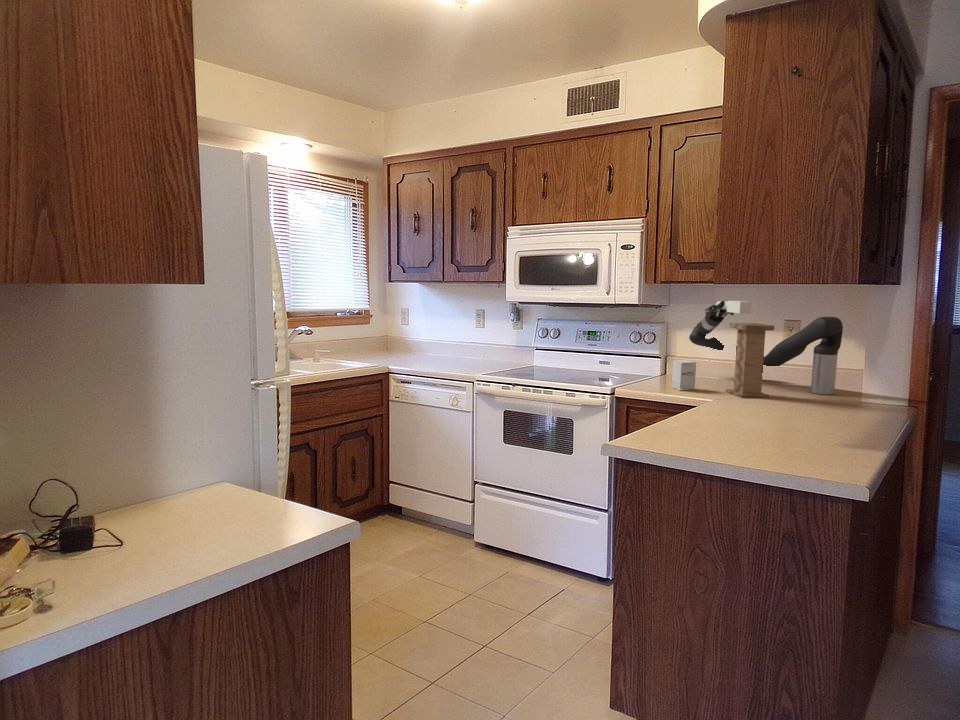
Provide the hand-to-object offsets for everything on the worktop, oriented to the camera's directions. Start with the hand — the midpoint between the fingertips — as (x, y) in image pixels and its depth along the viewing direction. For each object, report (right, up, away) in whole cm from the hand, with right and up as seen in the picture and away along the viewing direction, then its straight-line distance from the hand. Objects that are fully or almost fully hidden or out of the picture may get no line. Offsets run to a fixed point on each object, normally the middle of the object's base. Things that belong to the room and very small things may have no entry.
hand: (727, 302), depth 293 cm
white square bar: (0, -4, -4) cm, 6 cm away
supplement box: (-22, -39, -5) cm, 45 cm away
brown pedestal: (+1, -41, -17) cm, 44 cm away
